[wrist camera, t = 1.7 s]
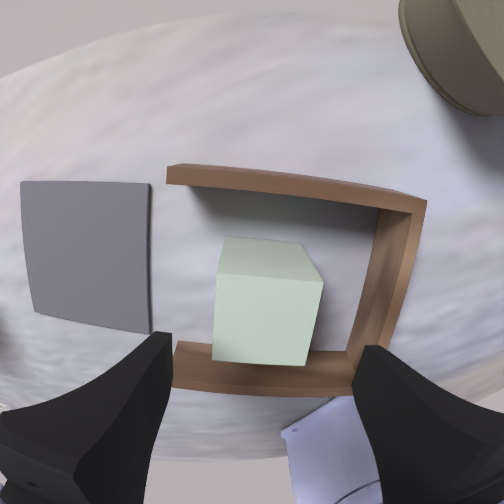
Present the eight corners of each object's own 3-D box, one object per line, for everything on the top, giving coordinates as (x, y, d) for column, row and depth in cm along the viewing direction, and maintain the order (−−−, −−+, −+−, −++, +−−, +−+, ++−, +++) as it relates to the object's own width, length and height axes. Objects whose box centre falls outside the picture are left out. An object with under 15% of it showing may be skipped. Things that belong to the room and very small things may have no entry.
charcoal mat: (150, 330, 20) (148, 333, 20) (37, 309, 20) (34, 311, 19) (149, 183, 17) (147, 184, 17) (23, 181, 17) (20, 182, 16)
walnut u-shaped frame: (352, 359, 21) (368, 394, 18) (178, 349, 21) (167, 386, 17) (394, 190, 18) (427, 200, 14) (184, 163, 17) (167, 166, 13)
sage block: (289, 308, 20) (304, 365, 14) (220, 303, 20) (211, 360, 14) (300, 242, 19) (323, 282, 13) (225, 235, 18) (216, 273, 13)
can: (366, -24, 13) (407, -74, 7) (476, -17, 12) (523, -40, 5) (433, 132, 17) (504, 131, 10) (526, 110, 16) (584, 111, 9)
